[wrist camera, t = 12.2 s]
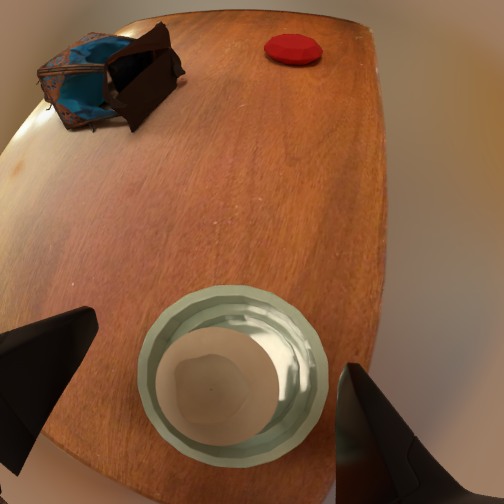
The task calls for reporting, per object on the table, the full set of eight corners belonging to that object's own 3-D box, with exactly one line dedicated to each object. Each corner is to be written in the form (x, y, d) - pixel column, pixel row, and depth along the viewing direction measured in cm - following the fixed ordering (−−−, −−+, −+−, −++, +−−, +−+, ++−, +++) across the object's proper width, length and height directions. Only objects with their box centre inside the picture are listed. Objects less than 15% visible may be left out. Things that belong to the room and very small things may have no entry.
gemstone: (279, 71, 34) (279, 55, 31) (256, 50, 37) (255, 35, 35) (331, 65, 35) (333, 49, 32) (304, 43, 38) (304, 30, 35)
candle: (241, 428, 17) (218, 479, 8) (184, 381, 19) (118, 388, 10) (290, 373, 19) (311, 381, 9) (231, 327, 20) (201, 293, 11)
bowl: (287, 462, 16) (292, 487, 12) (147, 413, 18) (117, 422, 14) (331, 325, 20) (349, 313, 16) (193, 285, 22) (173, 263, 18)
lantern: (178, 134, 38) (72, 123, 41) (199, 34, 30) (85, 45, 33) (104, 146, 24) (4, 137, 27) (133, -1, 16) (17, 40, 19)
